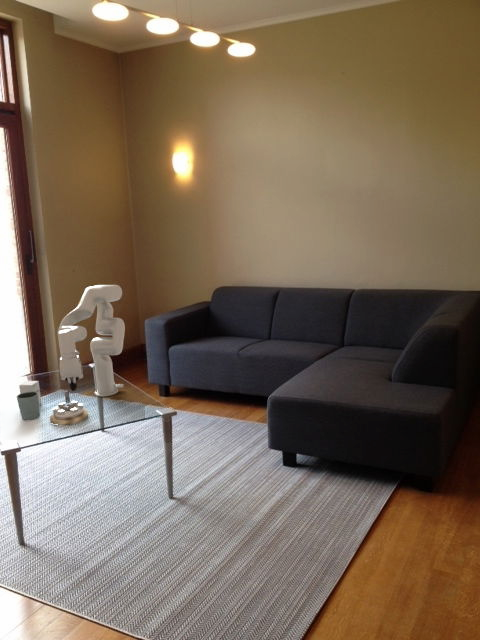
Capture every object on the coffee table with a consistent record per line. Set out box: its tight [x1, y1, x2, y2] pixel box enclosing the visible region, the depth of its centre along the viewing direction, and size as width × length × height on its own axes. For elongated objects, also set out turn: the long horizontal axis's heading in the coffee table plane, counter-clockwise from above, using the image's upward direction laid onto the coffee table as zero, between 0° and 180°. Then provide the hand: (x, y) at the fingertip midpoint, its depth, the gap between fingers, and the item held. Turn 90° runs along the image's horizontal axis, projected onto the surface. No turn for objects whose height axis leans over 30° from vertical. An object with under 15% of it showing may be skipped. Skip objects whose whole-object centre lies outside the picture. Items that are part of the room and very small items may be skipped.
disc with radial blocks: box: [52, 389, 84, 420], centre depth 283 cm, size 14×14×10 cm
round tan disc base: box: [49, 408, 89, 426], centre depth 285 cm, size 18×18×3 cm
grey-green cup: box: [16, 392, 41, 421], centre depth 289 cm, size 10×10×12 cm
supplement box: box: [18, 380, 42, 405], centre depth 306 cm, size 7×7×13 cm
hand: (73, 389), depth 288 cm, fingers closed
